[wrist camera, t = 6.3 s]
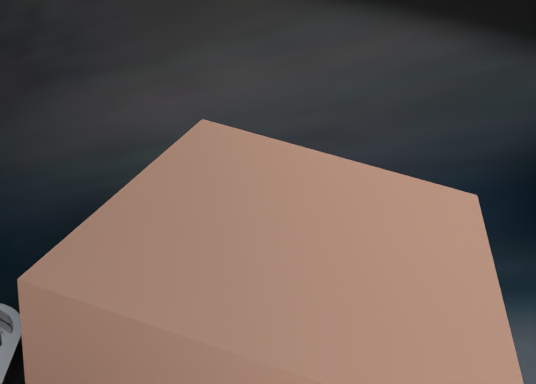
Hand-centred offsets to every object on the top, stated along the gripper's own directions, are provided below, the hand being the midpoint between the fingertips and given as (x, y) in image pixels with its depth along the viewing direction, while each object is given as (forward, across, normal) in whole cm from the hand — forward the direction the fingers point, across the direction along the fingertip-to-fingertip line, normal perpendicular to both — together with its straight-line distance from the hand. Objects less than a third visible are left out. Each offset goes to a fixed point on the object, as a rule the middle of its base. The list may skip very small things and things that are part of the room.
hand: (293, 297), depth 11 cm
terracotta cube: (+1, 0, 0) cm, 1 cm away
